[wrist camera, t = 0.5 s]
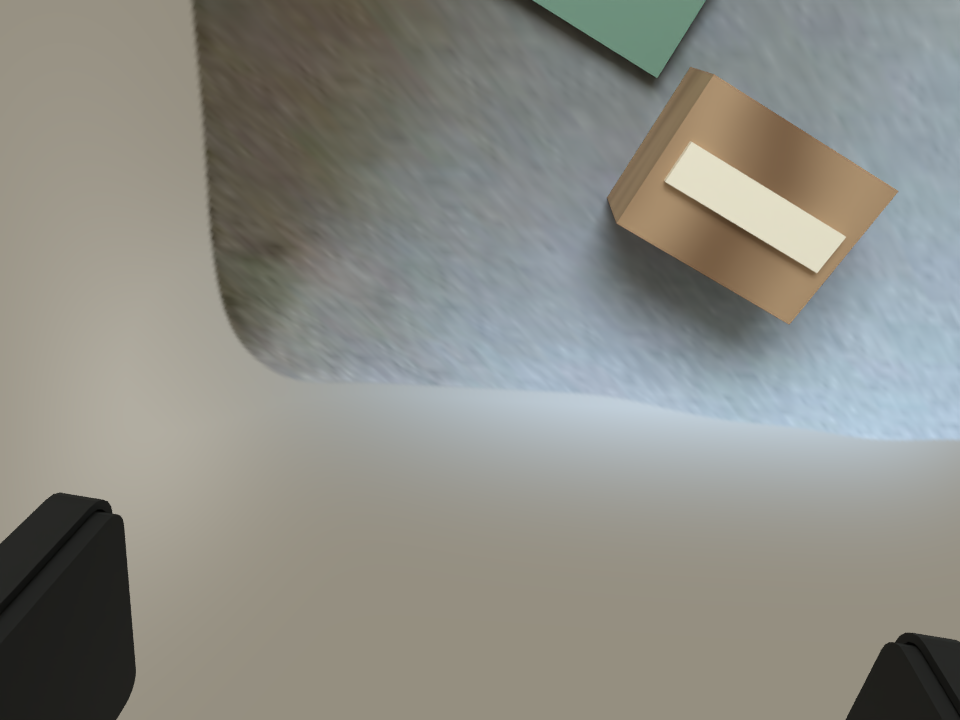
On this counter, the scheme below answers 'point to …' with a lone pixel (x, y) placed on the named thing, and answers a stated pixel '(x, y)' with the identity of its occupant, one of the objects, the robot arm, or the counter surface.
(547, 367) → the counter surface
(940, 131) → the counter surface
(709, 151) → the cardboard box
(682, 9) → the play mat
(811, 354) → the counter surface
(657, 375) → the counter surface
